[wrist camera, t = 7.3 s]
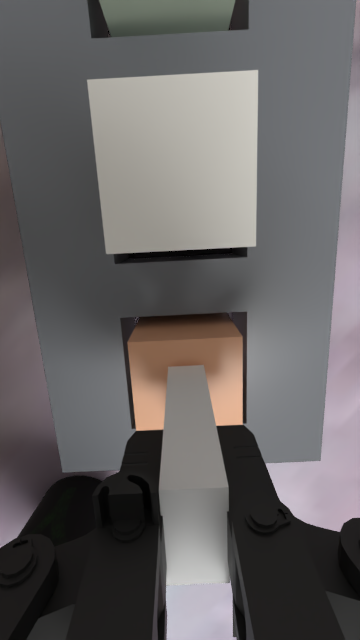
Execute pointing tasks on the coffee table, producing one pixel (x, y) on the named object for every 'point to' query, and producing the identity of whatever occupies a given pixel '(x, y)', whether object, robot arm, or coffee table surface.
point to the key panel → (179, 271)
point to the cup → (65, 511)
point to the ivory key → (176, 160)
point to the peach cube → (186, 364)
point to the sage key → (166, 16)
